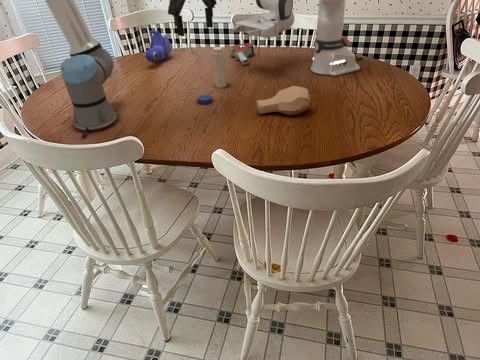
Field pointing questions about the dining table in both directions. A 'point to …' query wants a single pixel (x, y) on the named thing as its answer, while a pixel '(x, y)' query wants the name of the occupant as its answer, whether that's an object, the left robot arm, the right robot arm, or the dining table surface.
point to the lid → (204, 99)
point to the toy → (158, 48)
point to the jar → (219, 67)
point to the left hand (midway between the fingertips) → (196, 31)
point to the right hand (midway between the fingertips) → (241, 32)
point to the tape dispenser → (242, 52)
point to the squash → (286, 101)
